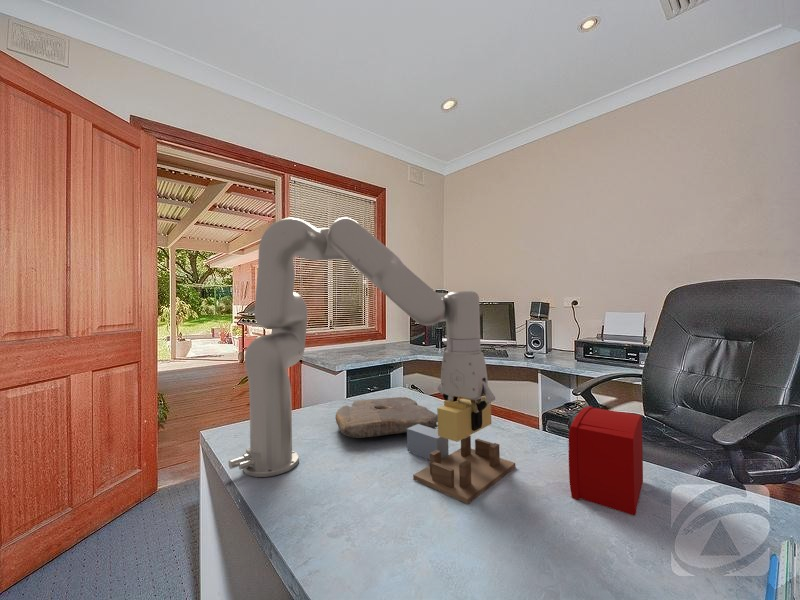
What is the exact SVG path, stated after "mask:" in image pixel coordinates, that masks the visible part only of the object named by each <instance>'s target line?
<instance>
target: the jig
mask: <svg viewBox="0 0 800 600" xmlns="http://www.w3.org/2000/svg"><path fill="white" fill-rule="evenodd" d="M471 436H472V435H469V436H467V437H466V438H464V439H462V440H460V448H459V449H457V450H455V451H454V452H452V453H450V454H449V455H448V456H446V457H444V458H443V459H441V451H439V450H435V451H433V452H431V453H430V460H429V465H428V466H427V467H425V468H424V467H423V469H421V470H419V471H417V472H416V473H414V474H412V475H413V476H412V477H413V478H412V479H413V480H414V481H417V482H418V483H421V484H423V485H424V486H427V487H430V488H432V489H433V490H436V491H438V492H440V493H443V494H445V495H447V496H449V497H451V498H453V499H456V500H458V501H460V502H461V503H464V504H466V505H468V504H470V503H472V501H474V500H475V499H476V498H478V497H479V496H480V495H482V494H483V493H484V492H485V491H487V490H488V489H489V488H491V487H493V485H494V484H496V483H497V482H498V481H500V480H501V479H502V478H504V477H505V476H506V475H507V474H509V473H510V472H511V471H513V470H514V469H515V468H516V462H514V461H511V460H508V459H504V458H502V457H500V455H501V454H500V444H499V443H498V442H497V443H496V442H490V441H487V440H484V439H480V438H476V439H475V440H474V445H475V446H474V448H472V447H471V446H472V444H471V442H472V441H471V439H472V438H471Z"/></svg>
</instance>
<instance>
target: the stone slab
mask: <svg viewBox="0 0 800 600" xmlns="http://www.w3.org/2000/svg"><path fill="white" fill-rule="evenodd" d="M335 422H336V425H337V427H338V429H339V431H340V433H341V434H342V435H344V436H347V437H350V438H353V439H354V438H355V439H363V438H372V437H380V436H388V435H395V434H404V433H407V428H409V427H412V426H414V425H417V424H420V425H423V426H426V427H430V428H433V429H436V428H438V416H437V414H436V412H433V411H431V410H429V409H428V408H427V407H426V406H422V405H420V404H418V403H417V401H416V400H414V399H412V398H409V397H405V396H404V397H402V396H399V397H384V398H374V399H372V398H371V399H362V400H361V399H360V400H354V401H353V403H352V404H351V406H349V405H343V406H341V407H340V408H339V409H337V412H336V413H335Z"/></svg>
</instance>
